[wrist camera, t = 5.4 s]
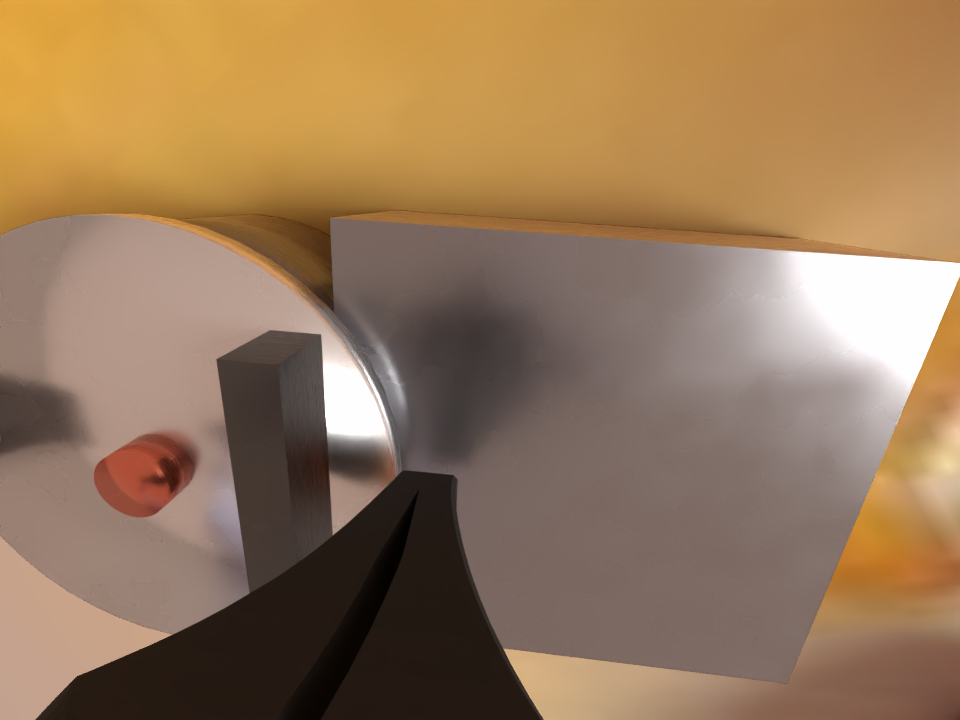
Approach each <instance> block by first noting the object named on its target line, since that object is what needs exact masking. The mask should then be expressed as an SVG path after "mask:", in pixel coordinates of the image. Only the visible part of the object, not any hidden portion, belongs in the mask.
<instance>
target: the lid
mask: <svg viewBox="0 0 960 720" xmlns="http://www.w3.org/2000/svg"><path fill="white" fill-rule="evenodd" d="M401 472H402V463H401V449H400V442H399V437H398V432H397V428H396V423H395V418H394V415H393V412H392V410H391V407H390V404H389V401H388V399H387V396H386V393H385V390H384V388H383V386H382V384H381V382H380V380H379V378H378V376H377V374H376V372H375V370H374V368H373V366H372V365H371V363H370V361H369V359H368V358H367V356H366V355H365V353H364V352H363V350H362V349H361V347H360V346H359V344H358V343H357V341H356V340H355V338H354V337H353V336H352V334H351V333H350V331H349V330H348V329H347V328H346V327H345V326H344V325H343V323H342V322H341V321H340V320H339V319H338V318H337V316H336V315H335V314H334V313H333V312H332V311H331V309H330V308H329V307H328V306H327V305H326V304H325V303H324V302H322V301H321V300H320V299H319V298H318V297H317V296H316V295H315V294H314V293H313V292H312V291H311V290H309V289H308V288H307V287H306V286H305V285H304V284H303V283H302V282H301V281H299V280H298V279H296V278H295V277H294V276H292V275H291V274H290V273H288V272H287V271H286V270H284V269H283V268H281V267H280V266H279V265H277V264H276V263H275V262H273V261H272V260H270V259H268V258H267V257H265V256H263V255H261V254H259V253H258V252H256V251H254V250H252V249H251V248H249V247H247V246H245V245H244V244H242V243H240V242H238V241H235V240H233V239H231V238H228V237H226V236H223V235H221V234H219V233H216V232H214V231H212V230H209V229H207V228H204V227H200V226H196V225H193V224H189V223H186V222H182V221H179V220H175V219H171V218H164V217H157V216H150V215H143V214H85V215H70V216H64V217H57V218H51V219H44V220H40V221H37V222H34V223H31V224H28V225H25V226H22V227H18V228H15V229H12V230H10V231H8V232H7V233H5V234H3V235H1V236H0V536H1V537H2V538H3V539H4V540H5V541H6V542H7V543H8V544H9V545H10V546H11V547H12V548H13V549H14V550H15V551H16V552H17V553H19V554H20V555H21V556H22V557H23V558H24V559H25V560H26V561H28V562H29V563H30V564H31V565H33V566H34V567H35V568H36V569H38V570H39V571H40V572H41V573H42V574H44V575H45V576H46V577H48V578H49V579H51V580H52V581H54V582H55V583H57V584H58V585H60V586H61V587H63V588H64V589H65V590H67V591H69V592H70V593H72V594H74V595H75V596H77V597H79V598H81V599H83V600H84V601H86V602H88V603H89V604H91V605H93V606H95V607H97V608H99V609H101V610H104V611H106V612H108V613H110V614H112V615H114V616H117V617H119V618H121V619H124V620H127V621H130V622H132V623H136V624H138V625H141V626H143V627H147V628H151V629H154V630H158V631H161V632H165V633H169V634H175V633H177V632H179V631H181V630H183V629H185V628H187V627H189V626H191V625H193V624H195V623H197V622H199V621H201V620H203V619H205V618H207V617H209V616H211V615H212V614H214V613H216V612H218V611H220V610H222V609H224V608H226V607H227V606H229V605H231V604H233V603H234V602H236V601H238V600H239V599H241V598H243V597H244V596H246V595H248V594H249V593H251V592H253V591H254V590H256V589H258V588H259V587H261V586H263V585H264V584H266V583H268V582H269V581H271V580H273V579H274V578H276V577H277V576H279V575H281V574H282V573H284V572H285V571H286V570H288V569H289V568H291V567H292V566H294V565H295V564H297V563H298V562H299V561H301V560H302V559H303V558H305V557H306V556H307V555H309V554H310V553H311V552H313V551H314V550H315V549H317V548H318V547H319V546H321V545H322V544H323V543H324V542H325V541H327V540H328V539H329V538H330V537H331V536H333V535H334V534H335V533H336V532H337V531H339V530H340V529H341V528H342V527H344V526H345V525H346V524H347V523H348V522H349V521H350V520H351V519H353V518H354V517H355V516H356V515H357V514H358V513H359V512H360V511H361V510H362V509H363V508H365V507H366V506H367V505H368V504H369V503H370V502H371V501H372V500H373V499H374V498H375V497H376V496H377V495H378V494H379V493H380V492H381V491H382V490H383V489H384V488H385V487H386V486H387V485H388V484H389V483H390V482H391V481H392V480H393V479H394V478H395V477H396V476H397V475H398V474H399V473H401Z"/></svg>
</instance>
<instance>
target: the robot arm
mask: <svg viewBox="0 0 960 720" xmlns="http://www.w3.org/2000/svg"><path fill="white" fill-rule="evenodd" d="M457 487H458V479H457V478H456V477H455V476H454V475H449V474H439V473H428V472H418V471H408V470H403V471H402V472H401V473H399V474H398V475H397V476H396V477H395V478H394V479H393V480H392V481H391V482H390V483H389V484H388V485H387V486H386V487H385V488H384V489H383V490H382V491H381V492H380V493H379V494H378V495H377V496H376V497H375V498H374V499H373V500H372V501H371V502H370V503H369V504H368V505H367V506H366V507H365V508H363V509H362V510H361V511H360V512H359V513H358V514H357V515H356V516H355V517H354V518H353V519H351V520H350V521H349V522H348V523H347V524H346V525H345V526H344V527H342V528H341V529H340V530H339V531H337V532H336V533H335V534H334V535H333V536H331V537H330V538H329V539H328V540H327V541H325V542H324V543H323V544H322V545H321V546H319V547H318V548H317V549H315V550H314V551H313V552H311V553H310V554H309V555H307V556H306V557H305V558H303V559H302V560H301V561H299V562H298V563H297V564H295V565H294V566H292V567H291V568H289V569H288V570H286V571H285V572H284V573H282V574H281V575H279V576H277V577H276V578H274V579H273V580H271V581H269V582H268V583H266V584H264V585H263V586H261V587H259V588H258V589H256V590H254V591H253V592H251V593H249V594H248V595H246V596H244V597H243V598H241V599H239V600H238V601H236V602H234V603H233V604H231V605H229V606H227V607H226V608H224V609H222V610H220V611H218V612H216V613H214V614H212V615H211V616H209V617H207V618H205V619H203V620H201V621H199V622H197V623H195V624H193V625H191V626H189V627H187V628H185V629H183V630H181V631H179V632H177V633H175V634H173V635H171V636H169V637H167V638H165V639H163V640H160V641H158V642H156V643H154V644H152V645H150V646H147V647H145V648H143V649H140V650H138V651H136V652H133V653H131V654H129V655H126V656H124V657H122V658H120V659H117V660H115V661H113V662H110V663H108V664H106V665H104V666H101V667H99V668H96V669H94V670H92V671H89V672H87V673H84V674H82V675H79V676H77V677H76V678H75V679H74V680H73V681H72V682H71V683H70V684H69V685H68V686H67V687H66V688H65V689H64V690H63V691H62V692H61V693H60V694H59V695H58V696H57V697H56V698H55V700H53V701H52V702H51V704H50V705H49V706H48V707H47V708H46V709H45V710H44V711H43V712H42V713H41V714H40V715H39V717H38V718H37V719H36V720H544V719H543V718H542V716H541V715H540V713H539V712H538V710H537V708H536V707H535V705H534V703H533V702H532V700H531V699H530V697H529V695H528V694H527V692H526V690H525V689H524V687H523V685H522V683H521V681H520V680H519V678H518V676H517V674H516V673H515V671H514V669H513V667H512V665H511V664H510V662H509V660H508V658H507V656H506V654H505V652H504V649H503V647H502V645H501V643H500V641H499V639H498V637H497V635H496V633H495V631H494V629H493V627H492V625H491V623H490V621H489V618H488V616H487V614H486V611H485V609H484V606H483V604H482V602H481V599H480V596H479V594H478V591H477V588H476V586H475V583H474V580H473V577H472V574H471V571H470V568H469V564H468V561H467V557H466V554H465V550H464V546H463V542H462V538H461V533H460V528H459V523H458V517H457Z"/></svg>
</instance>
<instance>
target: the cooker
mask: <svg viewBox="0 0 960 720" xmlns="http://www.w3.org/2000/svg"><path fill="white" fill-rule="evenodd" d="M175 220H179V221H182V222H186V223H189V224H193V225H196V226H200V227H204V228H207V229H209V230H212V231H214V232H216V233H219V234H221V235H223V236H226V237H228V238H231V239H233V240H235V241H238V242H240V243H242V244H244V245H245V246H247V247H249V248H251V249H252V250H254V251H256V252H258V253H259V254H261V255H263V256H265V257H267V258H268V259H270V260H272V261H273V262H275V263H276V264H277V265H279V266H280V267H281V268H283V269H284V270H286V271H287V272H288V273H290V274H291V275H292V276H294V277H295V278H296V279H298V280H299V281H301V282H302V283H303V284H304V285H305V286H306V287H307V288H308V289H309V290H311V291H312V292H313V293H314V294H315V295H316V296H317V297H318V298H319V299H320V300H321V301H322V302H324V303H325V304H326V305H327V306H328V307H329V308H330V309H331V311H332V312H333V313H334V314H335V315H336V316H337V318H338V319H339V320H340V321H341V322H342V323H343V325H344V326H345V327H346V328H347V329H348V330H349V331H350V333H351V334H352V336H353V337H354V338H355V340H356V341H357V343H358V344H359V346H360V347H361V349H362V350H363V352H364V353H365V355H366V356H367V358H368V359H369V361H370V363H371V365H372V366H373V368H374V370H375V372H376V374H377V376H378V378H379V380H380V382H381V384H382V386H383V388H384V390H385V393H386V396H387V399H388V401H389V404H390V407H391V410H392V412H393V415H394V418H395V423H396V428H397V432H398V437H399V442H400V449H401V463H402V471H403V470H408V471H418V472H428V473H439V474H449V475H454V476H455V477H456V478H457V479H458V487H457V517H458V523H459V528H460V533H461V538H462V542H463V546H464V550H465V554H466V557H467V561H468V564H469V568H470V571H471V574H472V577H473V580H474V583H475V586H476V588H477V591H478V594H479V596H480V599H481V602H482V604H483V606H484V609H485V611H486V614H487V616H488V618H489V621H490V623H491V625H492V627H493V629H494V631H495V633H496V635H497V637H498V639H499V641H500V643H501V645H502V647H503V648H505V649H513V650H521V651H529V652H537V653H545V654H553V655H561V656H569V657H577V658H585V659H593V660H602V661H610V662H618V663H626V664H634V665H642V666H650V667H658V668H666V669H674V670H682V671H690V672H698V673H706V674H714V675H722V676H730V677H738V678H746V679H754V680H763V681H771V682H779V683H788V680H789V678H790V676H791V673H792V671H793V669H794V666H795V664H796V661H797V659H798V657H799V654H800V652H801V650H802V647H803V645H804V642H805V640H806V638H807V635H808V633H809V631H810V628H811V626H812V624H813V621H814V619H815V616H816V614H817V612H818V609H819V607H820V605H821V602H822V600H823V597H824V595H825V593H826V590H827V588H828V586H829V583H830V581H831V578H832V576H833V574H834V571H835V569H836V567H837V564H838V562H839V560H840V557H841V555H842V552H843V550H844V548H845V545H846V543H847V541H848V538H849V536H850V533H851V531H852V529H853V526H854V524H855V522H856V519H857V517H858V515H859V512H860V510H861V507H862V505H863V503H864V500H865V498H866V496H867V493H868V491H869V488H870V486H871V484H872V481H873V479H874V477H875V474H876V472H877V469H878V467H879V465H880V462H881V460H882V458H883V455H884V453H885V451H886V448H887V446H888V443H889V441H890V439H891V436H892V434H893V432H894V429H895V427H896V424H897V422H898V420H899V417H900V415H901V413H902V410H903V408H904V406H905V403H906V401H907V398H908V396H909V394H910V391H911V389H912V387H913V384H914V382H915V379H916V377H917V375H918V372H919V370H920V368H921V365H922V363H923V360H924V358H925V356H926V353H927V351H928V349H929V346H930V344H931V342H932V339H933V337H934V334H935V332H936V330H937V327H938V325H939V323H940V320H941V318H942V315H943V313H944V311H945V308H946V306H947V304H948V301H949V299H950V297H951V294H952V292H953V289H954V287H955V285H956V282H957V280H958V278H959V275H960V263H957V262H950V261H943V260H937V259H930V258H924V257H917V256H911V255H904V254H898V253H891V252H885V251H878V250H872V249H865V248H859V247H852V246H846V245H839V244H833V243H826V242H820V241H813V240H807V239H797V238H782V237H768V236H754V235H740V234H726V233H712V232H698V231H684V230H670V229H655V228H641V227H627V226H613V225H599V224H585V223H571V222H557V221H543V220H528V219H514V218H500V217H486V216H472V215H458V214H444V213H430V212H416V211H401V210H392V211H384V212H375V213H366V214H358V215H349V216H341V217H332V218H330V233H331V237H330V236H328V235H327V234H325V233H323V232H321V231H319V230H316V229H314V228H312V227H309V226H307V225H305V224H302V223H298V222H295V221H291V220H288V219H284V218H279V217H272V216H265V215H232V216H217V217H203V218H188V219H175Z"/></svg>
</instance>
